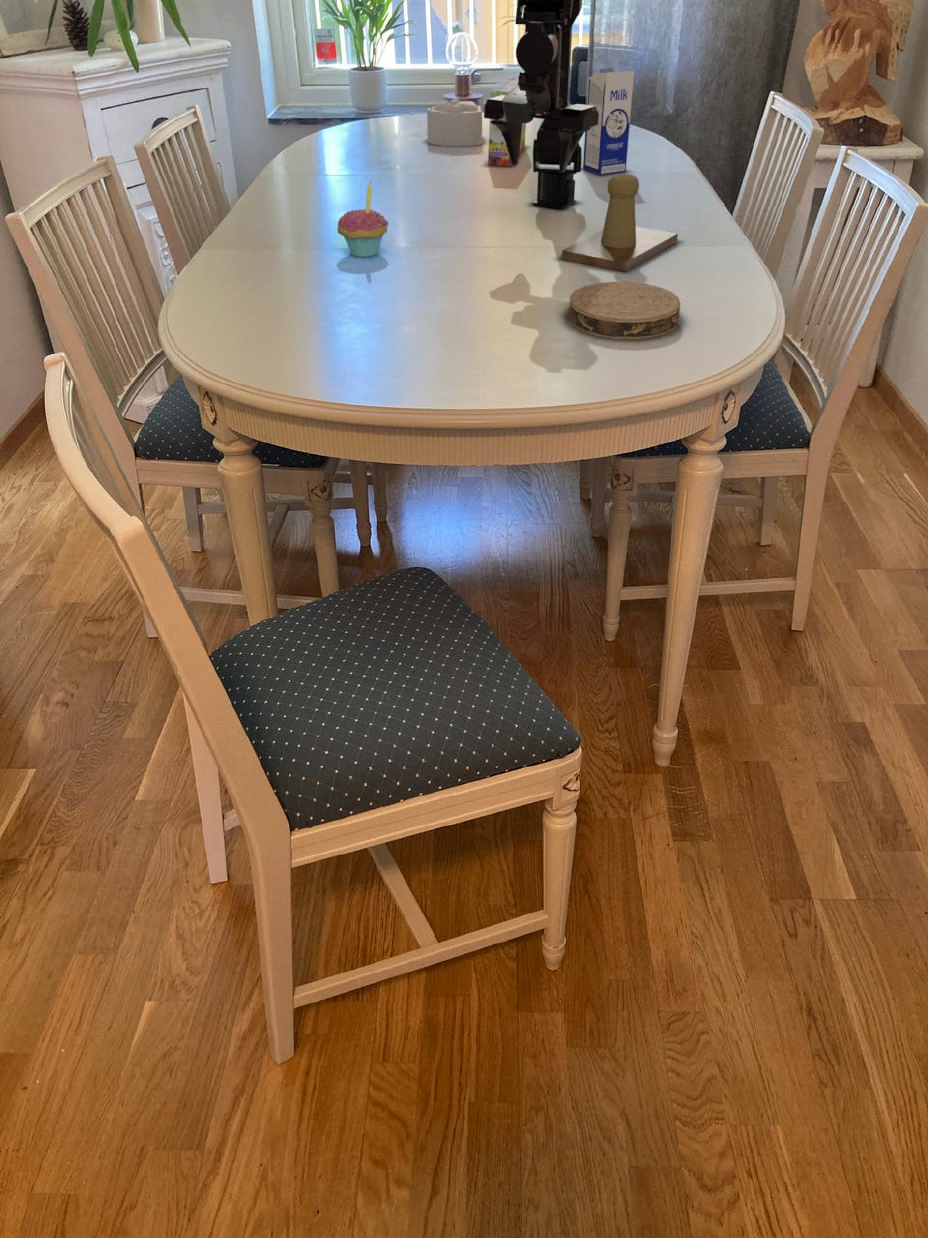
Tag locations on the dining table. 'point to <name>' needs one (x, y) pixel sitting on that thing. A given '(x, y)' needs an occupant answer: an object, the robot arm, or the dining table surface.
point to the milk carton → (609, 122)
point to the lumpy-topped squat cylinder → (455, 123)
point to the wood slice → (624, 310)
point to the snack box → (496, 139)
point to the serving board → (620, 250)
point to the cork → (621, 212)
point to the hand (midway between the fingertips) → (538, 168)
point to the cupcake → (363, 229)
